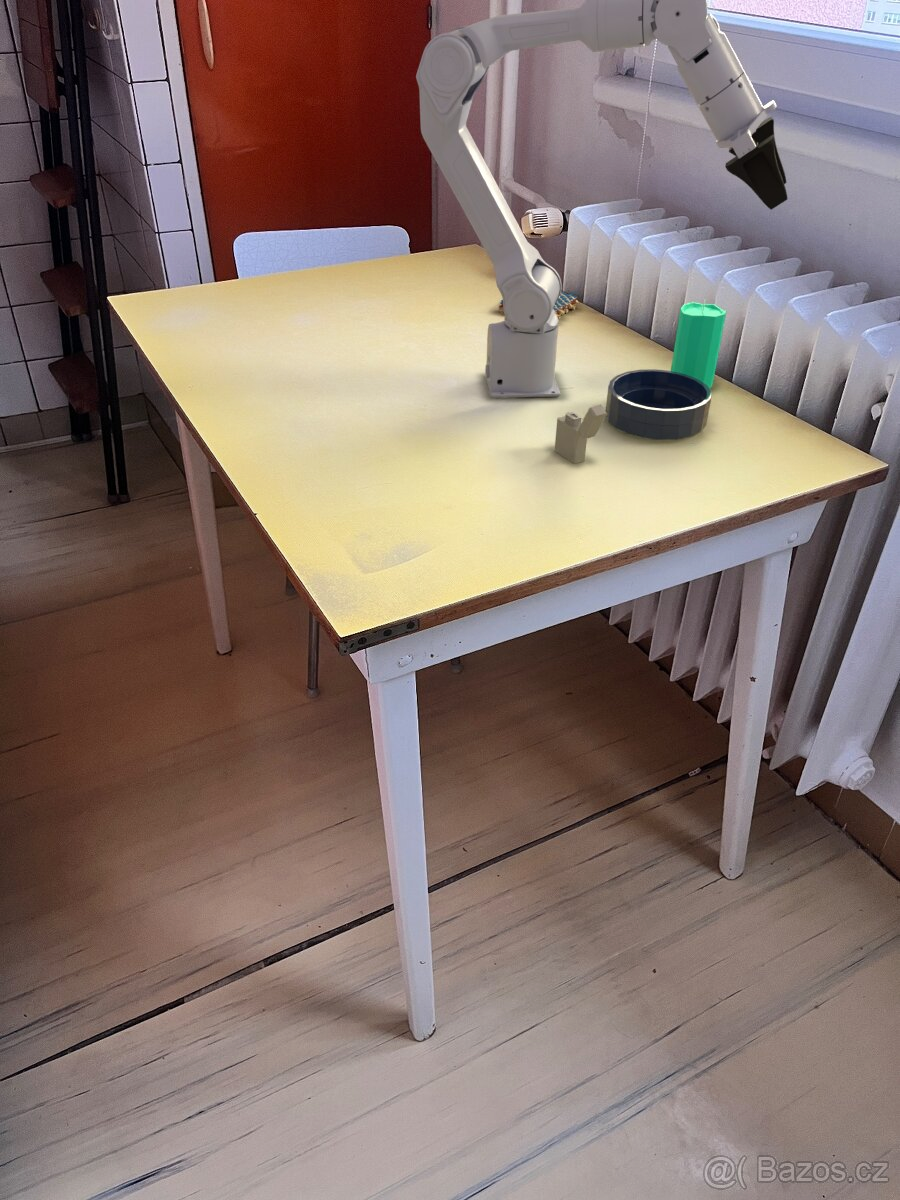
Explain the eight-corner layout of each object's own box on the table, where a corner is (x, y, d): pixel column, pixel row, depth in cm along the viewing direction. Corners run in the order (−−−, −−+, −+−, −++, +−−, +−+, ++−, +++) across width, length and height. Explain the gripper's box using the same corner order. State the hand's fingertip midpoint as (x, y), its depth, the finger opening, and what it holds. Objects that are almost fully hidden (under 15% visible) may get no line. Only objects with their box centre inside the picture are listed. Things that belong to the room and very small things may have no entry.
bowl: (616, 445, 115) (620, 411, 113) (596, 401, 126) (599, 370, 123) (718, 443, 116) (724, 409, 114) (689, 400, 126) (695, 368, 124)
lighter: (553, 450, 114) (558, 388, 110) (565, 446, 115) (570, 385, 110) (589, 474, 109) (596, 411, 105) (601, 470, 110) (608, 408, 105)
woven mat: (494, 312, 153) (495, 300, 152) (525, 295, 161) (526, 283, 160) (551, 325, 149) (552, 312, 148) (580, 306, 156) (581, 294, 155)
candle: (713, 393, 128) (729, 307, 121) (668, 389, 129) (682, 303, 122) (712, 376, 133) (727, 292, 126) (669, 372, 134) (682, 289, 127)
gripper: (753, 74, 96) (814, 190, 101) (755, 55, 107) (809, 160, 112) (692, 118, 100) (753, 228, 105) (699, 95, 111) (754, 195, 116)
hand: (778, 195), depth 109 cm, fingers open, 7 cm apart
